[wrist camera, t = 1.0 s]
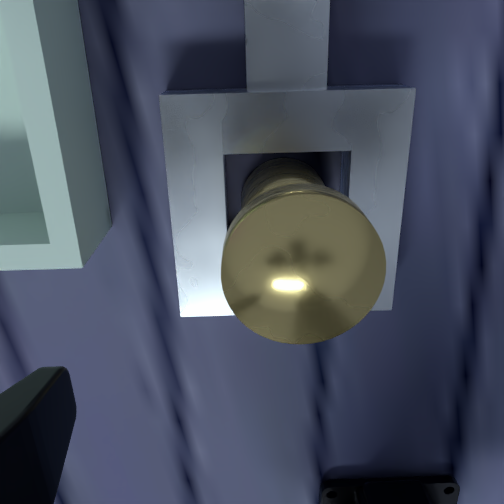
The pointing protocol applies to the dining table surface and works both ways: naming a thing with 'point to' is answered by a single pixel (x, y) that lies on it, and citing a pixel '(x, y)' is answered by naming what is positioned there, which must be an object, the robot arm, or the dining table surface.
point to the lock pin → (299, 257)
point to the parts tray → (48, 140)
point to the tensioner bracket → (280, 142)
